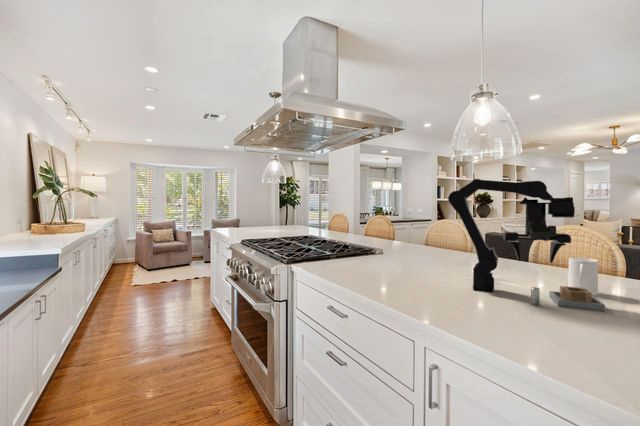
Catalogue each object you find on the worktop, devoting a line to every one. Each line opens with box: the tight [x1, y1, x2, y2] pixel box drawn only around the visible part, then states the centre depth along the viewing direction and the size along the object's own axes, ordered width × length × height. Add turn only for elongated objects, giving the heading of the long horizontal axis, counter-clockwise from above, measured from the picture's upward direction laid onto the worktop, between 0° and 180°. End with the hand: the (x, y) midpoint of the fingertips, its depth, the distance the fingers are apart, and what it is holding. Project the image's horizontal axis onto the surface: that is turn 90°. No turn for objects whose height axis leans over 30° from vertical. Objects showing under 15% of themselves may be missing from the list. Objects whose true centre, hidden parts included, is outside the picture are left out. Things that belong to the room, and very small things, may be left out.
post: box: [530, 286, 541, 307], centre depth 97 cm, size 2×2×6 cm
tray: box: [548, 290, 606, 312], centre depth 98 cm, size 11×11×2 cm
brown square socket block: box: [559, 285, 592, 303], centre depth 98 cm, size 6×6×4 cm
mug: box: [567, 257, 600, 297], centre depth 109 cm, size 12×8×12 cm
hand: (534, 261), depth 107 cm, fingers open, 9 cm apart
